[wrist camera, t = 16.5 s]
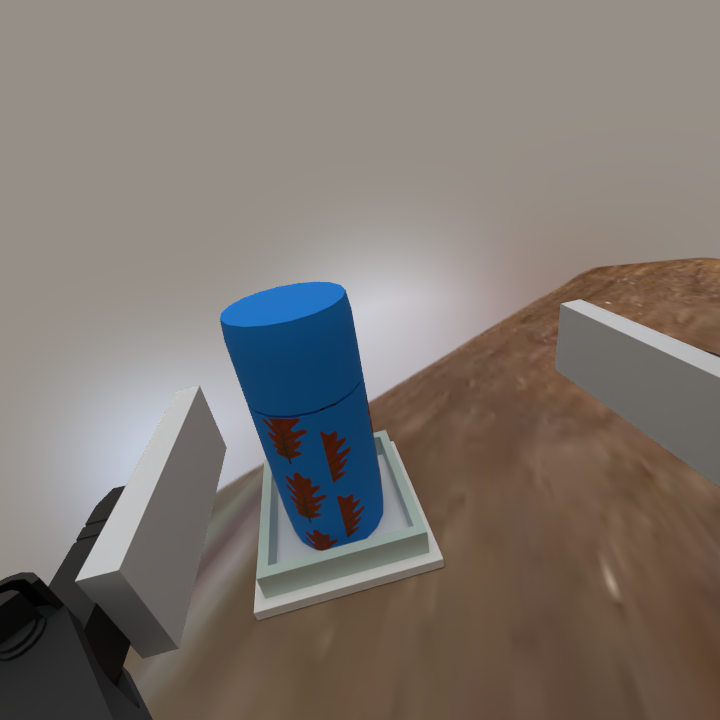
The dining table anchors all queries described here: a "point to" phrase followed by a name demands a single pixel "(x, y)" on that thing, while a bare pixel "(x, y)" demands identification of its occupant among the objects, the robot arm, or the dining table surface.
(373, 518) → the leaf-print tea canister
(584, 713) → the dining table surface
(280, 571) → the holder
